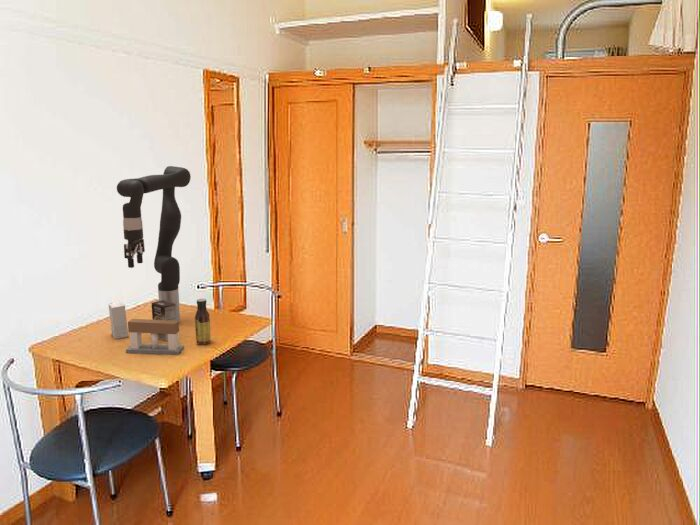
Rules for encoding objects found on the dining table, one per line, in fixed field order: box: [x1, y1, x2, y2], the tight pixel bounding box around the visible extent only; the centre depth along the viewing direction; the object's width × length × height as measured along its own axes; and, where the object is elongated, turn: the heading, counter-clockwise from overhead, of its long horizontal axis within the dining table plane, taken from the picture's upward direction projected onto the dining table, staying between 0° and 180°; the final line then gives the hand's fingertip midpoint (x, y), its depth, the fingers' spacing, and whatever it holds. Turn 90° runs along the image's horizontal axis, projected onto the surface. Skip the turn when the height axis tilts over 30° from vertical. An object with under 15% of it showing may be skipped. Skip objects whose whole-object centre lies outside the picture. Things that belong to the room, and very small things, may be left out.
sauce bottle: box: [194, 298, 212, 345], centre depth 233 cm, size 6×6×20 cm
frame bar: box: [127, 318, 180, 334], centre depth 223 cm, size 4×20×4 cm, turn 86°
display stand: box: [125, 332, 185, 356], centre depth 224 cm, size 7×22×8 cm, turn 87°
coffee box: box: [151, 300, 176, 342], centre depth 239 cm, size 9×6×16 cm
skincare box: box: [108, 301, 129, 340], centre depth 240 cm, size 8×6×15 cm
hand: (135, 265), depth 229 cm, fingers open, 8 cm apart
